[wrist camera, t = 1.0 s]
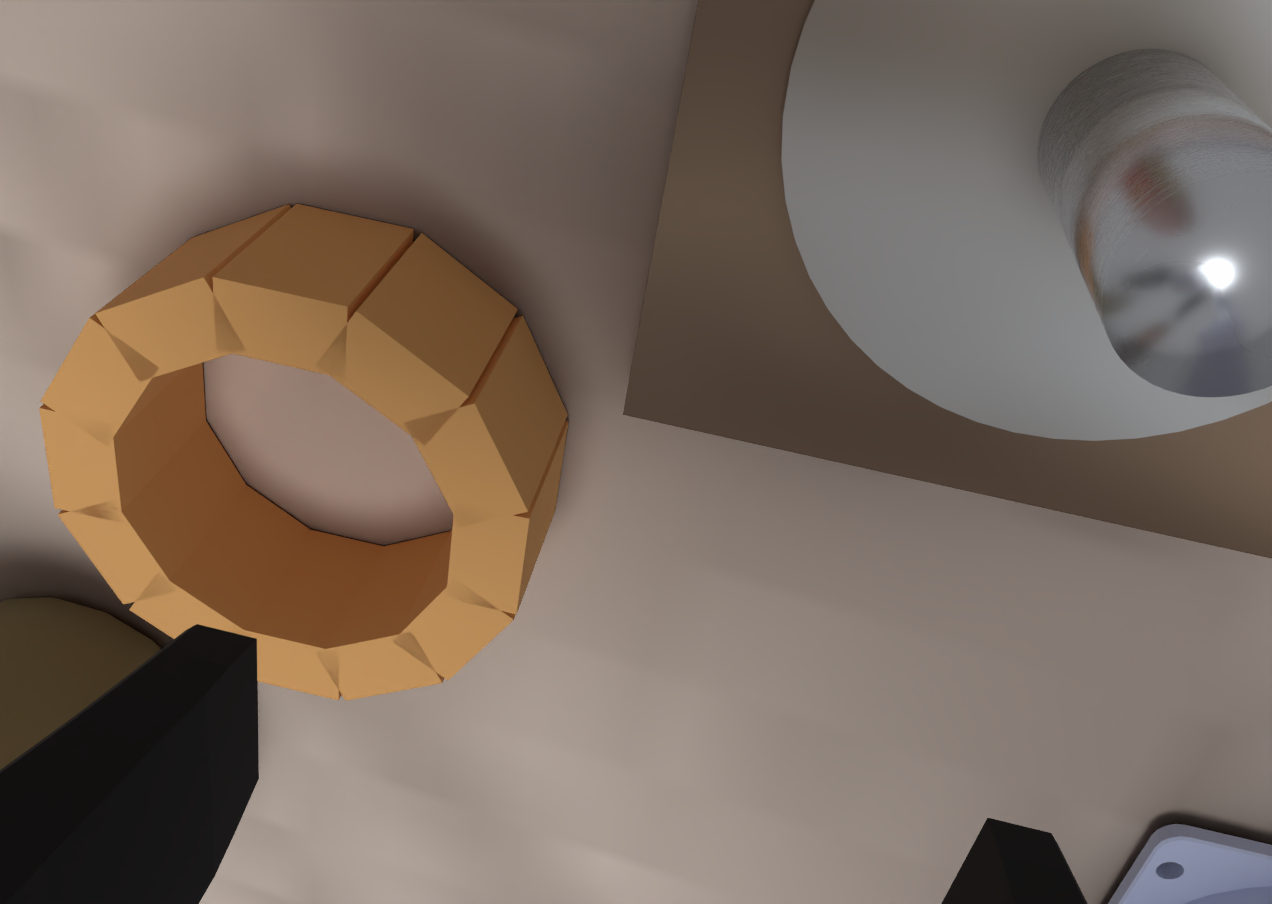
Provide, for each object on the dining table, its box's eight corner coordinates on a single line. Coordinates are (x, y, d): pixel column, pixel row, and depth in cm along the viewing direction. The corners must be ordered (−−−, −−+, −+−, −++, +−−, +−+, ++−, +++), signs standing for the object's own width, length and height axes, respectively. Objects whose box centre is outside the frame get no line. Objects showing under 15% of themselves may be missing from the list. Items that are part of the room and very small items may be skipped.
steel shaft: (1180, 237, 16) (1297, 418, 12) (1009, 201, 16) (1065, 370, 12) (1258, 64, 15) (1422, 199, 10) (1072, 26, 15) (1160, 144, 11)
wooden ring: (537, 628, 23) (499, 738, 21) (157, 540, 23) (74, 638, 21) (591, 267, 19) (552, 351, 16) (122, 165, 19) (12, 232, 16)
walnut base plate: (1330, 539, 19) (1358, 587, 18) (632, 385, 20) (620, 423, 19) (1867, -309, 13) (1962, -312, 12) (797, -508, 13) (793, -529, 12)
